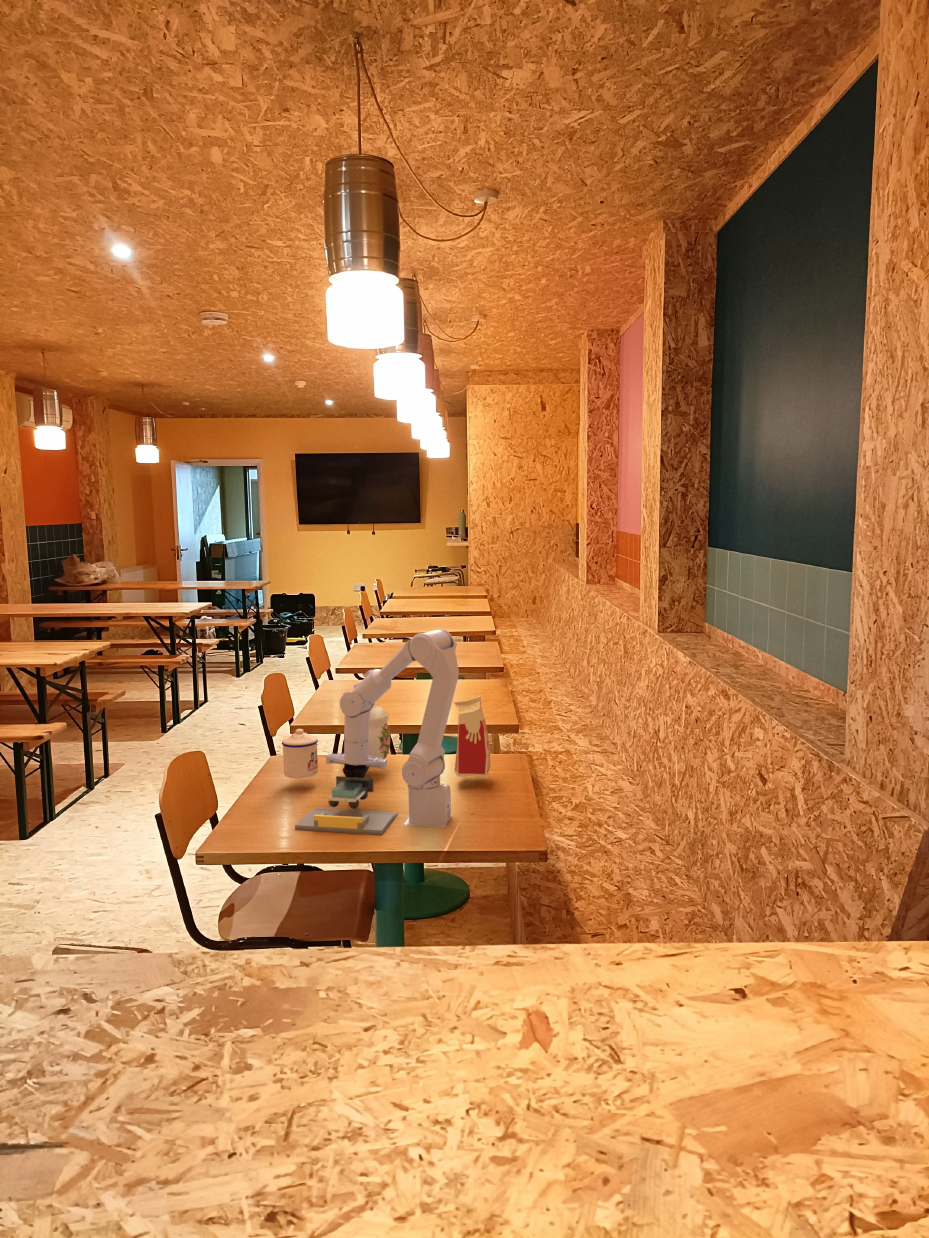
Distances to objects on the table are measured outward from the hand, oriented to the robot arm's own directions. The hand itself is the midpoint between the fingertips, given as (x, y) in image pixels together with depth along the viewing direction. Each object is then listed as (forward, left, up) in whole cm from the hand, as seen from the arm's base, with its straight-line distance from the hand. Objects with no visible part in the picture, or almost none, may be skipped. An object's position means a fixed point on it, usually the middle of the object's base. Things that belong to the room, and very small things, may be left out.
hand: (355, 794), depth 191 cm
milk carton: (-24, -20, 0) cm, 32 cm away
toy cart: (-1, +7, 0) cm, 7 cm away
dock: (-1, +10, -3) cm, 10 cm away
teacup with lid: (+19, -14, 0) cm, 24 cm away
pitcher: (+4, -23, 0) cm, 24 cm away
